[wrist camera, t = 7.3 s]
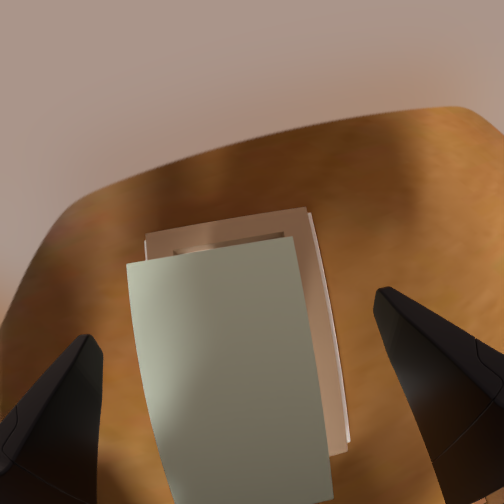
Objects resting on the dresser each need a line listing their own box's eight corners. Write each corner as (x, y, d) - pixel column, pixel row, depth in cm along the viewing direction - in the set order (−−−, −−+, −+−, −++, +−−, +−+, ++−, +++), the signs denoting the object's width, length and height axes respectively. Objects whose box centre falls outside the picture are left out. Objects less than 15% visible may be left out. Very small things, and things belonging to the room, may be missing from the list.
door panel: (286, 394, 16) (333, 498, 5) (223, 404, 16) (179, 516, 5) (268, 289, 17) (292, 235, 6) (205, 299, 17) (126, 263, 6)
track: (347, 438, 15) (356, 449, 14) (185, 463, 15) (179, 475, 13) (309, 215, 18) (314, 205, 17) (147, 243, 18) (137, 235, 16)
